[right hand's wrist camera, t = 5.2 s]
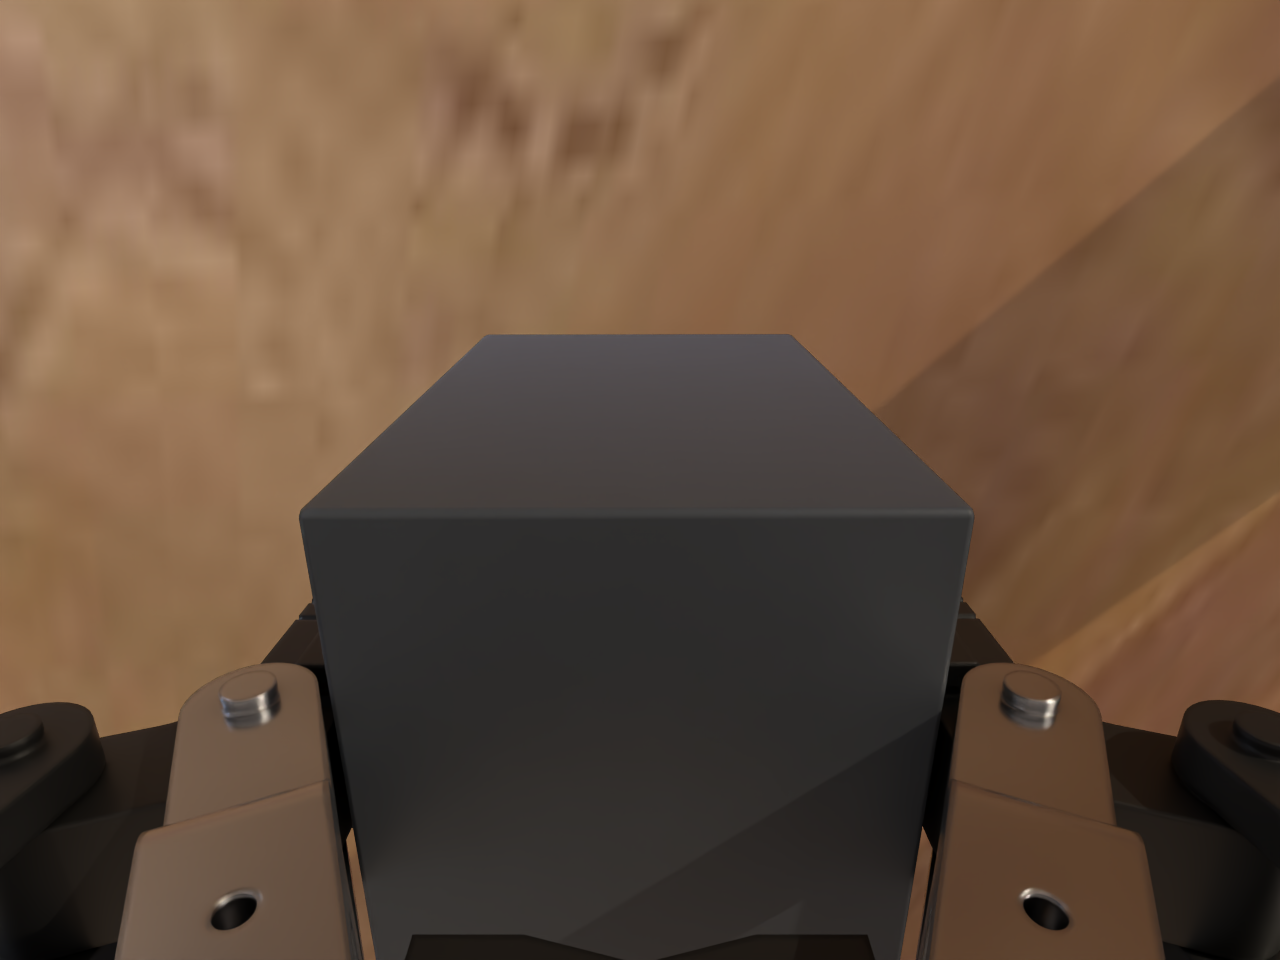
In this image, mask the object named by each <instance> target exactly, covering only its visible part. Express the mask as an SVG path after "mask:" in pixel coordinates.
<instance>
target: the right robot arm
mask: <svg viewBox="0 0 1280 960" xmlns="http://www.w3.org/2000/svg"><path fill="white" fill-rule="evenodd" d="M351 828H353V825H352V819H351V813H350V807H349V802H348V796H347V790H346V784H345V779H344V773H343V767H342V762H341V756H340V750H339V744H338V739H337V733H336V727H335V722H334V716H333V710H332V704H331V699H330V693H329V687H328V682H327V676H326V670H325V664H324V659H323V653H322V647H321V641H320V636H319V630H318V624H317V619H316V613H315V607H314V601H313V599H312V603H309V604H308V605H307V606H306V608H305V609H304V610H303V611H302V613H301V614H300V615H299V620H295V621H294V623H293V624H292V625H291V626H290V628H289V629H288V630H287V631H286V633H285V634H284V635H283V637H282V638H281V639H280V640H279V642H278V643H277V644H276V645H275V647H274V648H273V649H272V650H271V652H270V653H269V654H268V655H267V657H266V658H265V659H264V660H263V662H262V663H261V664H258V665H253V666H248V667H245V668H241V669H238V670H235V671H232V672H229V673H227V674H224V675H222V676H220V677H218V678H216V679H214V680H212V681H210V682H209V683H207V684H205V685H204V686H202V687H201V688H200V689H198V690H197V691H196V692H195V693H193V694H192V695H191V696H190V697H189V698H188V700H187V701H186V702H185V703H184V705H183V706H182V708H181V710H180V713H179V717H178V721H177V722H174V723H170V724H166V725H162V726H157V727H152V728H147V729H142V730H137V731H132V732H127V733H122V734H117V735H112V736H107V737H101V738H100V737H99V734H98V731H97V728H96V724H95V721H94V718H93V715H92V714H91V712H90V711H89V710H88V709H87V708H85V707H83V706H81V705H78V704H73V703H65V702H54V703H43V704H37V705H31V706H27V707H22V708H18V709H15V710H12V711H8V712H5V713H3V714H0V960H364V954H363V947H362V941H361V934H360V927H359V920H358V913H357V906H356V899H355V892H354V885H353V878H352V871H351V865H350V859H349V853H348V848H347V842H346V839H347V837H348V834H349V832H350V830H351ZM923 828H924V830H925V832H926V835H927V837H928V839H929V841H930V844H931V846H932V853H931V859H930V865H929V871H928V878H927V885H926V892H925V899H924V906H923V913H922V920H921V927H920V934H919V940H918V947H917V954H916V960H1280V713H1278V712H1275V711H1272V710H1269V709H1266V708H1262V707H1259V706H1255V705H1251V704H1247V703H1242V702H1235V701H1226V700H1208V701H1203V702H1198V703H1196V704H1193V705H1191V706H1190V707H1189V708H1187V710H1186V711H1185V713H1184V716H1183V719H1182V722H1181V726H1180V729H1179V732H1178V735H1177V737H1175V736H1170V735H1165V734H1160V733H1155V732H1150V731H1145V730H1140V729H1135V728H1129V727H1124V726H1119V725H1114V724H1110V723H1106V722H1102V717H1101V713H1100V710H1099V708H1098V706H1097V705H1096V703H1095V702H1094V701H1093V700H1092V698H1091V697H1090V696H1089V695H1088V694H1087V693H1085V692H1084V691H1083V690H1082V689H1080V688H1079V687H1078V686H1076V685H1075V684H1073V683H1071V682H1070V681H1068V680H1066V679H1064V678H1062V677H1060V676H1058V675H1056V674H1053V673H1051V672H1048V671H1045V670H1042V669H1039V668H1035V667H1032V666H1027V665H1022V664H1015V663H1013V661H1012V660H1011V659H1010V657H1009V656H1008V655H1007V654H1006V652H1005V651H1004V650H1003V649H1002V647H1001V646H1000V645H999V644H998V642H997V641H996V640H995V638H994V637H993V636H992V635H991V633H990V632H989V631H988V630H987V628H986V627H985V626H984V625H983V623H982V622H981V621H980V619H976V614H975V613H974V612H973V611H972V609H971V608H970V607H969V606H968V604H967V603H966V602H963V598H962V597H961V600H960V606H959V612H958V618H957V624H956V630H955V636H954V641H953V647H952V653H951V659H950V665H949V671H948V677H947V683H946V689H945V695H944V701H943V707H942V713H941V719H940V725H939V731H938V736H937V742H936V748H935V754H934V760H933V766H932V772H931V778H930V784H929V790H928V796H927V802H926V808H925V814H924V820H923ZM405 960H623V959H619V958H615V957H611V956H607V955H603V954H599V953H595V952H591V951H587V950H583V949H579V948H575V947H572V946H568V945H564V944H560V943H556V942H552V941H548V940H544V939H540V938H536V937H532V936H528V935H524V934H412V938H411V941H410V944H409V948H408V951H407V954H406V957H405ZM657 960H875V957H874V954H873V951H872V948H871V944H870V941H869V938H868V934H756V935H752V936H748V937H744V938H740V939H736V940H732V941H728V942H724V943H720V944H716V945H712V946H708V947H705V948H701V949H697V950H693V951H689V952H685V953H681V954H677V955H673V956H669V957H665V958H661V959H657Z"/></svg>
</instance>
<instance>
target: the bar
mask: <svg viewBox="0 0 1280 960" xmlns="http://www.w3.org/2000/svg"><path fill="white" fill-rule="evenodd" d="M299 521H300V527H301V533H302V538H303V544H304V550H305V556H306V561H307V567H308V573H309V579H310V584H311V590H312V596H313V601H314V607H315V613H316V619H317V624H318V630H319V636H320V641H321V647H322V653H323V659H324V664H325V670H326V676H327V682H328V687H329V693H330V699H331V704H332V710H333V716H334V722H335V727H336V733H337V739H338V744H339V750H340V756H341V762H342V767H343V773H344V779H345V784H346V790H347V796H348V802H349V807H350V813H351V819H352V825H353V830H354V836H355V842H356V847H357V853H358V859H359V865H360V870H361V876H362V882H363V887H364V893H365V899H366V905H367V910H368V916H369V922H370V927H371V933H372V939H373V945H374V950H375V956H376V960H405V957H406V954H407V951H408V948H409V944H410V941H411V938H412V934H524V935H528V936H532V937H536V938H540V939H544V940H548V941H552V942H556V943H560V944H564V945H568V946H572V947H575V948H579V949H583V950H587V951H591V952H595V953H599V954H603V955H607V956H611V957H615V958H619V959H623V960H657V959H661V958H665V957H669V956H673V955H677V954H681V953H685V952H689V951H693V950H697V949H701V948H705V947H708V946H712V945H716V944H720V943H724V942H728V941H732V940H736V939H740V938H744V937H748V936H752V935H756V934H868V938H869V941H870V944H871V948H872V951H873V954H874V957H875V960H900V956H901V950H902V944H903V938H904V932H905V927H906V921H907V915H908V909H909V903H910V897H911V891H912V885H913V879H914V873H915V867H916V861H917V855H918V849H919V843H920V837H921V831H922V826H923V820H924V814H925V808H926V802H927V796H928V790H929V784H930V778H931V772H932V766H933V760H934V754H935V748H936V742H937V736H938V731H939V725H940V719H941V713H942V707H943V701H944V695H945V689H946V683H947V677H948V671H949V665H950V659H951V653H952V647H953V641H954V636H955V630H956V624H957V618H958V612H959V606H960V600H961V594H962V588H963V582H964V576H965V570H966V564H967V558H968V552H969V546H970V540H971V535H972V529H973V523H974V513H973V509H972V508H971V507H970V506H969V505H968V504H967V503H966V502H965V501H964V500H963V499H962V498H961V497H960V496H958V495H957V494H956V493H955V492H954V491H953V490H952V489H951V488H950V487H949V486H948V485H947V484H946V483H945V482H944V481H943V480H942V479H941V478H940V477H939V476H938V475H937V474H936V473H934V472H933V471H932V470H931V469H930V468H929V467H928V466H927V465H926V464H925V463H924V462H923V461H922V460H921V459H920V458H919V457H918V456H917V455H916V454H915V453H914V452H913V451H912V450H911V449H909V448H908V447H907V446H906V445H905V444H904V443H903V442H902V441H901V440H900V439H899V438H898V437H897V436H896V435H895V434H894V433H893V432H892V431H891V430H890V429H889V428H888V427H887V426H885V425H884V424H883V423H882V422H881V421H880V420H879V419H878V418H877V417H876V416H875V415H874V414H873V413H872V412H871V411H870V410H869V409H868V408H867V407H866V406H865V405H864V404H863V403H862V402H860V401H859V400H858V399H857V398H856V397H855V396H854V395H853V394H852V393H851V392H850V391H849V390H848V389H847V388H846V387H845V386H844V385H843V384H842V383H841V382H840V381H839V380H838V379H836V378H835V377H834V376H833V375H832V374H831V373H830V372H829V371H828V370H827V369H826V368H825V367H824V366H823V365H822V364H821V363H820V362H819V361H818V360H817V359H816V358H815V357H814V356H813V355H811V354H810V353H809V352H808V351H807V350H806V349H805V348H804V347H803V346H802V345H801V344H800V343H799V342H798V341H797V340H796V339H795V338H794V337H793V336H791V335H789V334H674V335H486V336H485V337H483V338H482V339H481V340H480V341H479V342H478V343H477V344H476V345H475V346H474V347H473V348H472V349H471V350H470V351H469V352H468V353H467V354H465V355H464V356H463V357H462V358H461V359H460V360H459V361H458V362H457V363H456V364H455V365H454V366H453V367H452V368H451V369H450V370H449V371H447V372H446V373H445V374H444V375H443V376H442V377H441V378H440V379H439V380H438V381H437V382H436V383H435V384H434V385H433V386H432V387H430V388H429V389H428V390H427V391H426V392H425V393H424V394H423V395H422V396H421V397H420V398H419V399H418V400H417V401H416V402H415V403H414V404H412V405H411V406H410V407H409V408H408V409H407V410H406V411H405V412H404V413H403V414H402V415H401V416H400V417H399V418H398V419H397V420H396V421H394V422H393V423H392V424H391V425H390V426H389V427H388V428H387V429H386V430H385V431H384V432H383V433H382V434H381V435H380V436H379V437H378V438H376V439H375V440H374V441H373V442H372V443H371V444H370V445H369V446H368V447H367V448H366V449H365V450H364V451H363V452H362V453H361V454H360V455H358V456H357V457H356V458H355V459H354V460H353V461H352V462H351V463H350V464H349V465H348V466H347V467H346V468H345V469H344V470H343V471H342V472H340V473H339V474H338V475H337V476H336V477H335V478H334V479H333V480H332V481H331V482H330V483H329V484H328V485H327V486H326V487H325V488H323V489H322V490H321V491H320V492H319V493H318V494H317V495H316V496H315V497H314V498H313V499H312V500H311V501H310V502H309V503H308V504H307V505H305V506H304V507H303V508H302V509H301V511H300V515H299Z"/></svg>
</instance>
